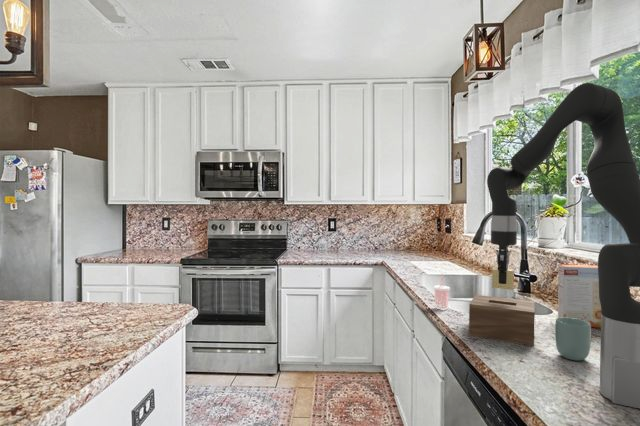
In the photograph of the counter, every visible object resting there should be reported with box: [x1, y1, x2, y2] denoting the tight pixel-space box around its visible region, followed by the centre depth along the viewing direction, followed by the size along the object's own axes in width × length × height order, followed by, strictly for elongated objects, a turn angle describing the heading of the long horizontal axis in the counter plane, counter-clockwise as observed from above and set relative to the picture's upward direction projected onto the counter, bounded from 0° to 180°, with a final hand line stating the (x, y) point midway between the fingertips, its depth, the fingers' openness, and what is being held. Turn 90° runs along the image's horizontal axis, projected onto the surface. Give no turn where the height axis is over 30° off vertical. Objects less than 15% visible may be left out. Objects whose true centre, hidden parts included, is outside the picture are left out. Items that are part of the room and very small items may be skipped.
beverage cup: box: [433, 273, 451, 310], centre depth 148 cm, size 6×6×14 cm
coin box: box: [468, 294, 536, 347], centre depth 120 cm, size 15×18×10 cm
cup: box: [554, 317, 592, 362], centre depth 100 cm, size 8×8×10 cm
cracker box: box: [557, 264, 601, 329], centre depth 129 cm, size 14×6×21 cm, turn 76°
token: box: [491, 267, 515, 291], centre depth 119 cm, size 2×6×6 cm, turn 60°
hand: (502, 282), depth 120 cm, fingers closed on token, 2 cm apart
